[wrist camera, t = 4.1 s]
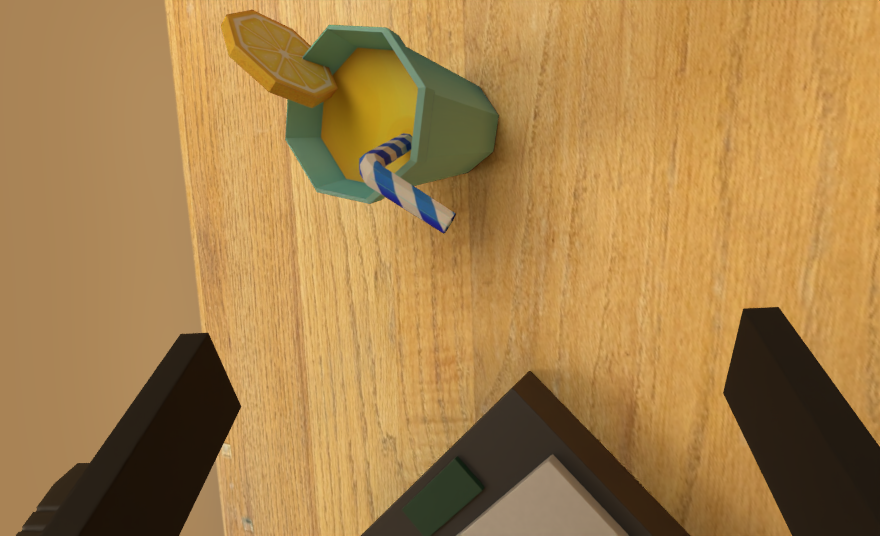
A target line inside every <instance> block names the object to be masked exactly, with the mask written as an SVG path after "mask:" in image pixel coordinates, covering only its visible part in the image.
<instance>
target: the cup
mask: <svg viewBox="0 0 880 536" xmlns="http://www.w3.org/2000/svg"><path fill="white" fill-rule="evenodd" d="M221 29H222V32H223V36H224V40H225V43H226V47H227V51H228V54H229V57H230V58H232V59H233V60H234V61H235V62H236V63H237V64H238V65H239V66H240V67H242V68H243V69H244V70H245V71H246V72H247V73H248V74H249V75H251V76H252V77H253V78H254V79H255V80H256V81H257V82H258V83H259V84H261V85H262V86H263V87H264V88H265V89H266V90H267V91H268V92H270V93H273V94H275V95H278V96H281V97H283V98H286V99H288V103H287V120H286V138H285V140H286V141H287V143H288V145H289V146H290V148H291V150H292V151H293V153H294V155H295V156H296V158H297V160H298V161H299V163H300V165H301V166H302V168H303V170H304V171H305V173H306V175H307V176H308V178H309V180H310V181H311V183H312V185H313V186H314V188H315V190H316V191H317V192H319V193H323V194H328V195H332V196H337V197H341V198H346V199H350V200H355V201H359V202H364V203H368V204H371V203H374V202H377V201H380V200H382V199H383V198H384V197H386V198H388V199H389V200H391V201H393V202H394V203H396V204H397V205H399V206H400V207H402V208H404V209H405V210H407V211H408V212H410V213H412V214H413V215H415V216H416V217H418V218H420V219H421V220H423V221H424V222H426V223H428V224H429V225H431V226H432V227H434V228H436V229H437V230H439V231H440V232H442V233H445V232H446V231H447V229H448V228H449V226H450V225H451V223H452V221H453V219H454V217H455V215H456V213H454V212H453V211H451V210H449V209H448V208H446V207H445V206H443V205H442V204H440V203H439V202H437V201H436V200H434V199H433V198H431V197H429V196H428V195H426V194H425V193H423V192H422V191H420V190H419V189H417V188H416V187H414V186H416V185H420V184H424V183H428V182H432V181H436V180H440V179H444V178H448V177H452V176H456V175H460V174H464V173H468V172H469V171H470V170H472V169H473V168H474V167H475V166H476V165H478V164H479V163H480V162H481V161H483V160H484V159H485V158H486V157H488V156H489V155H490V154H491V153H492V152H493V151H494V144H495V138H496V131H497V125H498V118H499V115H498V113H497V112H496V110H495V109H494V107H493V106H492V104H491V103H490V101H489V100H488V98H487V97H486V95H485V94H484V92H483V91H482V89H481V88H480V87H479V86H477V85H475V84H473V83H472V82H470V81H468V80H466V79H464V78H462V77H461V76H459V75H457V74H455V73H453V72H451V71H450V70H448V69H446V68H444V67H442V66H440V65H439V64H437V63H435V62H433V61H431V60H429V59H428V58H426V57H424V56H422V55H420V54H418V53H417V52H415V51H413V50H411V49H409V48H407V47H406V46H405V44H404V43H403V41H402V40H401V38H400V37H399V35H397V34H396V33H394V32H393V31H391V30H390V29H388V28H381V27H362V26H343V25H329V26H328V27H327V28H326V29H325V30H324V32H323V33H322V34H321V35H320V36H319V38H318V39H317V40H316V41H315V42H314V44H313V45H312V46H310V45H309V44H308V43H307V42H306V41H305V40H304V39H303V38H302V37H300V36H299V35H298V34H297V33H296V32H295V31H294V30H293V29H291V28H289V27H287V26H285V25H283V24H281V23H279V22H276V21H274V20H272V19H270V18H268V17H266V16H264V15H262V14H260V13H258V12H256V11H254V10H249V11H244V12H238V13H233V14H227V15H226V17H225V19H224V21H223V22H222V24H221Z"/></svg>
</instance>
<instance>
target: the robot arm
mask: <svg viewBox="0 0 880 536" xmlns="http://www.w3.org/2000/svg"><path fill="white" fill-rule="evenodd" d="M723 394H724V396H725V398H726V400H727V402H728V404H729V406H730V408H731V410H732V412H733V414H734V416H735V418H736V421H737V423H738V425H739V427H740V429H741V431H742V433H743V435H744V437H745V439H746V441H747V443H748V445H749V447H750V449H751V451H752V454H753V456H754V458H755V460H756V462H757V464H758V466H759V468H760V470H761V472H762V474H763V476H764V478H765V480H766V482H767V484H768V487H769V489H770V491H771V493H772V495H773V497H774V499H775V501H776V503H777V505H778V507H779V509H780V511H781V513H782V515H783V518H784V520H785V522H786V524H787V526H788V528H789V530H790V532H791V534H792V536H880V447H879V445H878V444H877V443H876V441H875V440H874V438H873V437H872V436H871V434H870V433H869V431H868V430H867V429H866V427H865V426H864V425H863V423H862V422H861V420H860V419H859V418H858V416H857V415H856V413H855V412H854V411H853V409H852V408H851V407H850V405H849V404H848V402H847V401H846V400H845V398H844V397H843V396H842V394H841V393H840V391H839V390H838V389H837V387H836V386H835V384H834V383H833V382H832V380H831V379H830V378H829V376H828V375H827V373H826V372H825V371H824V369H823V368H822V366H821V365H820V364H819V362H818V361H817V360H816V358H815V357H814V355H813V354H812V353H811V351H810V350H809V349H808V347H807V346H806V344H805V343H804V342H803V340H802V339H801V337H800V336H799V335H798V333H797V332H796V331H795V329H794V328H793V326H792V325H791V324H790V322H789V321H788V319H787V318H786V317H785V315H784V314H783V313H782V311H781V310H780V308H779V307H770V308H748V309H743V312H742V316H741V320H740V325H739V329H738V333H737V337H736V341H735V346H734V350H733V354H732V358H731V363H730V367H729V371H728V375H727V379H726V384H725V388H724V392H723ZM240 408H241V405H240V403H239V401H238V398H237V396H236V394H235V392H234V389H233V387H232V385H231V383H230V380H229V378H228V376H227V374H226V371H225V369H224V367H223V365H222V362H221V360H220V358H219V356H218V353H217V351H216V349H215V347H214V344H213V342H212V340H211V338H210V335H209V333H195V334H194V333H193V334H180V336H179V337H178V339H177V340H176V341H175V343H174V344H173V346H172V347H171V349H170V350H169V352H168V353H167V354H166V356H165V357H164V359H163V360H162V362H161V363H160V364H159V366H158V367H157V369H156V370H155V371H154V373H153V374H152V376H151V377H150V379H149V380H148V382H147V383H146V384H145V386H144V387H143V388H142V390H141V391H140V393H139V394H138V396H137V397H136V398H135V400H134V401H133V403H132V404H131V405H130V407H129V408H128V410H127V411H126V413H125V414H124V416H123V417H122V418H121V420H120V421H119V423H118V424H117V425H116V427H115V429H114V430H113V431H112V433H111V434H110V435H109V437H108V438H107V440H106V441H105V443H104V444H103V445H102V447H101V448H100V450H99V451H98V452H97V454H96V455H95V457H94V458H93V460H92V461H91V462H90V463H78V464H76V465H75V466H74V467H73V468H72V469H71V470H69V471H68V472H67V473H66V474H65V475H64V476H63V477H61V478H60V479H59V480H58V481H57V482H56V483H55V484H54V485H53V486H52V487H51V489H50V490H49V492H48V493H47V494H46V496H45V497H44V498H43V500H42V501H41V502H40V504H39V505H38V506H37V511H36V512H33V513H32V515H31V516H30V517H29V518H28V520H27V521H26V523H25V524H24V525H23V529H22V531H21V532H18V533H17V535H16V536H179V534H180V532H181V530H182V528H183V526H184V524H185V522H186V520H187V518H188V516H189V514H190V512H191V510H192V508H193V505H194V503H195V501H196V499H197V497H198V495H199V493H200V491H201V489H202V487H203V485H204V483H205V480H206V479H207V476H208V474H209V472H210V470H211V468H212V466H213V464H214V462H215V460H216V458H217V456H218V454H219V452H220V449H221V447H222V445H223V443H224V441H225V439H226V437H227V435H228V433H229V431H230V429H231V427H232V425H233V423H234V420H235V418H236V416H237V414H238V412H239V410H240Z"/></svg>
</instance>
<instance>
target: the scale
mask: <svg viewBox="0 0 880 536" xmlns="http://www.w3.org/2000/svg"><path fill="white" fill-rule="evenodd" d="M361 536H690V535H689V534H688V533H687V532H686V531H685V530H684V529H683V528H682V527H681V526H680V525H679V524H678V523H677V522H676V521H675V519H674V518H673V517H672V516H671V515H670V514H669V513H668V512H667V511H666V510H665V509H664V508H663V507H662V506H661V505H660V504H659V503H658V502H657V501H656V500H655V499H654V498H653V497H652V496H651V495H650V494H649V493H648V492H647V491H646V490H645V489H644V488H643V487H642V486H641V484H640V483H639V482H638V481H637V480H636V479H635V478H634V477H633V476H632V475H631V474H630V473H629V472H628V471H627V470H626V469H625V468H624V467H623V466H622V465H621V464H620V463H619V462H618V461H617V460H616V459H615V458H614V457H613V456H612V455H611V454H610V453H609V452H608V450H607V449H606V448H605V447H604V446H603V445H602V444H601V443H600V442H599V441H598V440H597V439H596V438H595V437H594V436H593V435H592V434H591V433H590V432H589V431H588V430H587V429H586V428H585V427H584V426H583V425H582V424H581V423H580V422H579V421H578V420H577V419H576V418H575V417H574V415H573V414H572V413H571V412H570V411H569V410H568V409H567V408H566V407H565V406H564V405H563V404H562V403H561V402H560V401H559V400H558V399H557V398H556V397H555V396H554V395H553V394H552V393H551V392H550V391H549V390H548V389H547V388H546V387H545V386H544V385H543V384H542V383H541V381H540V380H539V379H538V378H537V377H536V376H535V375H534V374H533V373H532V372H531V371H529V372H528V373H527V374H526V375H525V376H524V377H523V378H522V379H521V380H520V381H519V382H518V383H516V384H515V385H514V386H513V387H512V388H511V389H510V390H509V391H508V392H507V393H506V394H505V395H504V396H503V397H502V398H501V399H500V400H499V401H498V402H497V403H496V404H495V405H494V406H493V407H492V408H491V409H490V410H489V411H488V412H487V413H486V414H485V415H484V416H483V417H482V418H481V419H480V420H479V421H478V422H477V423H476V424H475V425H473V426H472V427H471V428H470V429H469V430H468V431H467V432H466V433H465V434H464V435H463V436H462V437H461V438H460V439H459V440H458V441H457V442H456V443H455V444H454V445H453V446H452V447H451V448H450V449H449V450H448V451H447V452H446V453H445V454H444V455H443V456H442V457H441V458H440V459H439V460H438V461H437V462H436V463H435V464H434V465H433V466H432V467H431V468H429V469H428V470H427V471H426V472H425V473H424V474H423V475H422V476H421V477H420V478H419V479H418V480H417V481H416V482H415V483H414V484H413V485H412V486H411V487H410V488H409V489H408V490H407V491H406V492H405V493H404V494H403V495H402V496H401V497H400V498H399V499H398V500H397V501H396V502H395V503H394V504H393V505H392V506H391V507H390V508H389V509H388V510H387V511H385V512H384V513H383V514H382V515H381V516H380V517H379V518H378V519H377V520H376V521H375V522H374V523H373V524H372V525H371V526H370V527H369V528H368V529H367V530H366V531H365V532H364V533H363V534H362V535H361Z"/></svg>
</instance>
